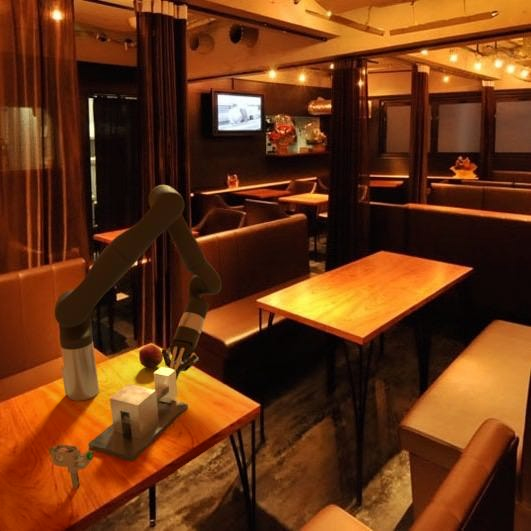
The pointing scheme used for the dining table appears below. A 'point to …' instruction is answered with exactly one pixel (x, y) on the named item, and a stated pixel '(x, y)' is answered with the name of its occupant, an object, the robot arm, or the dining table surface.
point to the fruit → (150, 356)
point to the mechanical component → (71, 460)
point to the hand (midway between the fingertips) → (170, 382)
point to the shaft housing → (136, 422)
